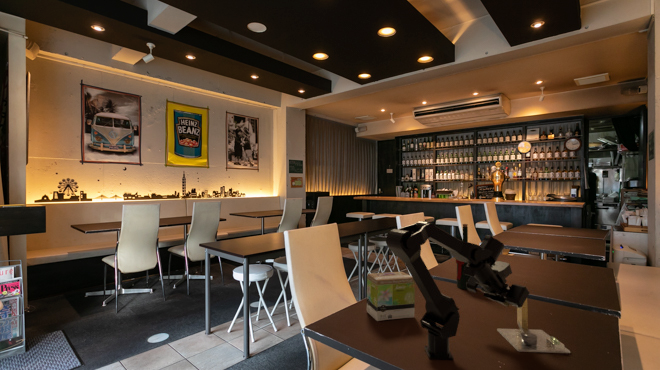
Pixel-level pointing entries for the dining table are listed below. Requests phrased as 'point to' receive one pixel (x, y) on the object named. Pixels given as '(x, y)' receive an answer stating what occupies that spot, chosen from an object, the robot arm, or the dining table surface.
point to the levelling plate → (543, 345)
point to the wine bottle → (462, 264)
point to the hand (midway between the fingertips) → (507, 305)
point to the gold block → (525, 325)
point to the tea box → (390, 295)
